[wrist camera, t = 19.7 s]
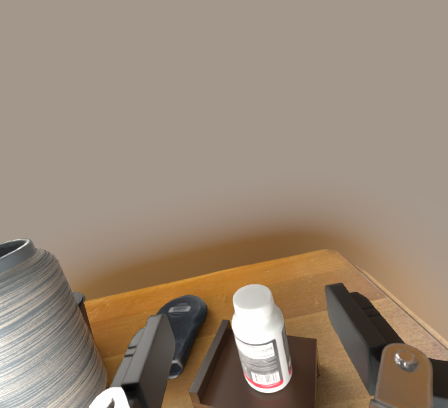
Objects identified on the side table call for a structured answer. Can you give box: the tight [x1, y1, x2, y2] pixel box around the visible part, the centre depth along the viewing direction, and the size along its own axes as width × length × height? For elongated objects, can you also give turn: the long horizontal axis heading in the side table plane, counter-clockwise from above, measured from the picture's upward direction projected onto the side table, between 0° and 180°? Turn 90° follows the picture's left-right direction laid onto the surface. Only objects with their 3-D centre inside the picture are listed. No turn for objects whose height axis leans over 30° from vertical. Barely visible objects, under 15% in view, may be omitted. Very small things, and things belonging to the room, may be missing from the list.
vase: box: [0, 239, 107, 408], centre depth 28 cm, size 12×12×23 cm
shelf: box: [189, 320, 320, 408], centre depth 28 cm, size 12×10×6 cm
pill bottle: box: [232, 284, 292, 393], centre depth 26 cm, size 5×5×10 cm
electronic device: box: [156, 295, 207, 379], centre depth 40 cm, size 9×6×15 cm
